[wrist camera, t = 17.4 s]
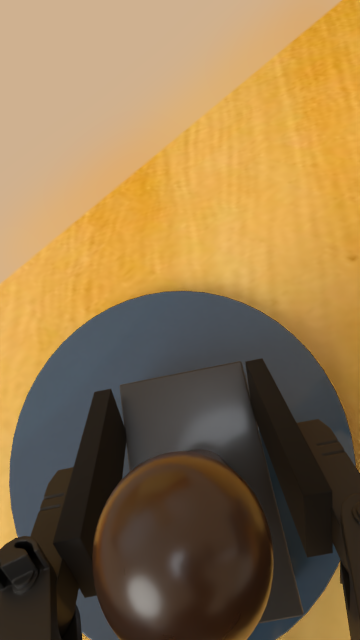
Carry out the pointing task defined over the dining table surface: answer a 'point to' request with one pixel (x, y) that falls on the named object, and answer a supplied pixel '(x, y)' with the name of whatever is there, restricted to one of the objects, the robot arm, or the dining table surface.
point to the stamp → (192, 516)
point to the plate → (156, 361)
